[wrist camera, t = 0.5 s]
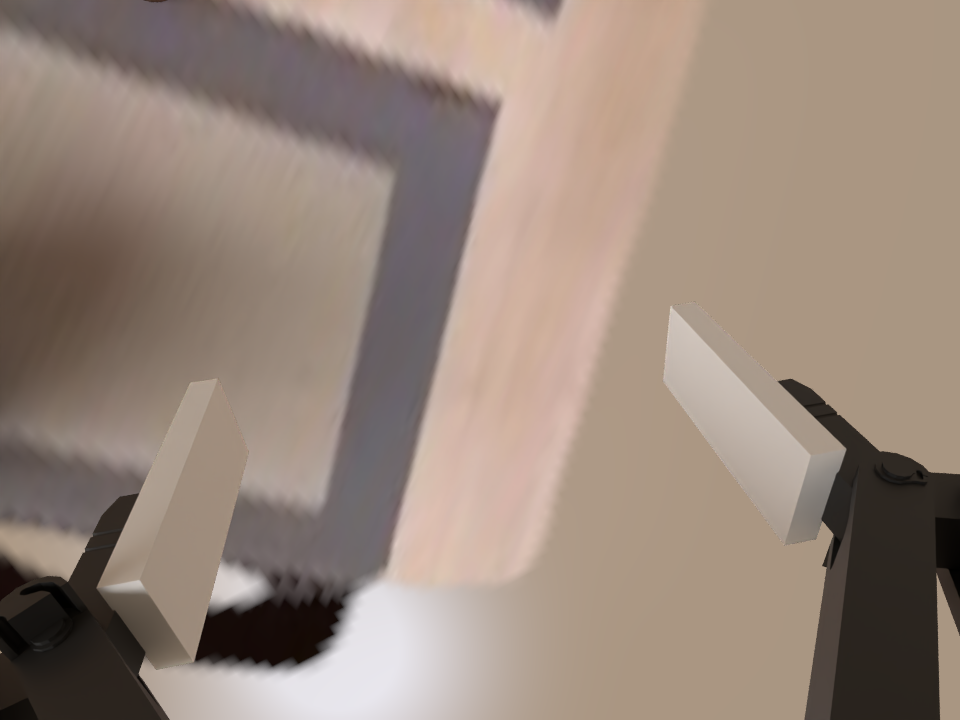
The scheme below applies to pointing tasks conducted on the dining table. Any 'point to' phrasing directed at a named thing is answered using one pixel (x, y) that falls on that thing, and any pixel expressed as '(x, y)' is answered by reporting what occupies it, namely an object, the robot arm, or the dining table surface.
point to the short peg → (155, 0)
